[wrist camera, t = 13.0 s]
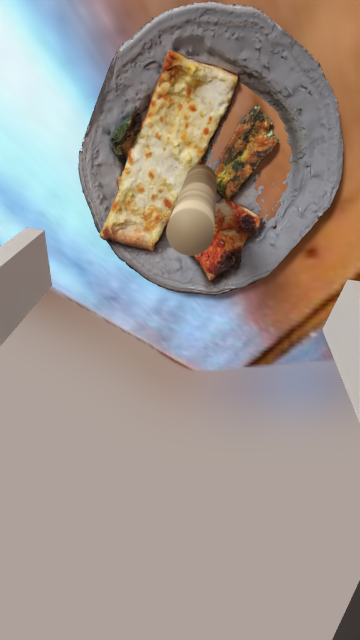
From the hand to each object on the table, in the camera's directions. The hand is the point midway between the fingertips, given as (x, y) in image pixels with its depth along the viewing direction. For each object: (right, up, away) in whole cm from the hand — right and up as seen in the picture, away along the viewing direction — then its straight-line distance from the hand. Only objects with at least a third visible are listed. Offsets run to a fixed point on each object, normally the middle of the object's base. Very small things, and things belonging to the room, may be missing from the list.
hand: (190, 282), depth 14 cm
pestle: (+2, +11, +16) cm, 20 cm away
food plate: (+2, +13, +19) cm, 23 cm away
